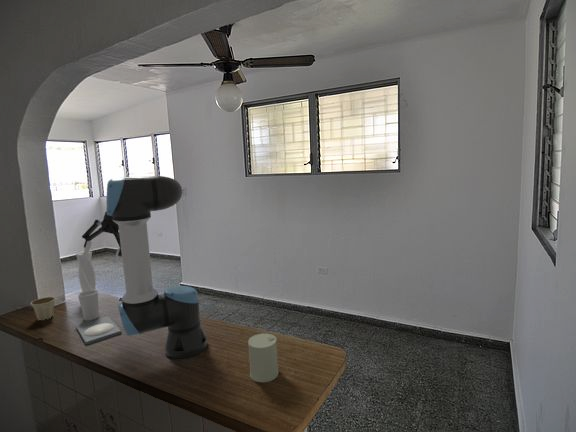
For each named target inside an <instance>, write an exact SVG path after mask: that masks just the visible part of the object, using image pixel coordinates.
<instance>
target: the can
mask: <svg viewBox="0 0 576 432" xmlns="http://www.w3.org/2000/svg"><path fill="white" fill-rule="evenodd" d="M277 341H278V339H277V337H276V336H275V335H273V334H271V333H258V334H255V335H253V336H251V337H250V338H249V339H248V342H247V344H248V356H249V377H250V379H251V380H253V381H254V382H257V383H268V382H271V381H273V380H275V379H276V378H277V377H278V376H279V372H280V371H279V366H278V349H277V347H278V345H277Z"/></svg>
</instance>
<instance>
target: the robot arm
mask: <svg viewBox="0 0 576 432" xmlns="http://www.w3.org/2000/svg"><path fill="white" fill-rule="evenodd" d="M106 185H107V186H106V210H105V213H104V215H103V218H102V219H103V220H100V219H95V220H94V222H93V224H92V225H91V226H90V227H89V228H88V229H87V230H86V231H85V232H84V233H83V234H82V235H81V238H82V239H84V240H85V241H84V244H83V250H84V249H85V250H84V253H83V256H88V254H89V252H91V251H90V250H91V248H92V244H93V240H94V239H95V238H96V237H98V236H99V235H101V234H102V233H107V234H113V236H114V237H115V240H116V242H117V244H118V248H117V249H116V253H115V256H114V260H113V264H119V261H120V257H121V259H122V268H123V276H124V285H125V286H124V287H125V293H124V294H123V295H122V297H121V301H122V302H119V303H118V304H117V309H118V312H119V315H120V320H121V324H122V327H123V330H124V333H125V334H126V336H130V337H131V336H135V335H142V334H145V333H148V332H152V331H157V330H160V329H163V328H168V329H167V336H166V339H165V342H164V352H165V355H166V356H168V357H170V358H173V359H186V358H187V359H188V358H190V357H193V356H196V355H198V354H200V353H202V352H203V351H204V350H205V349H206V348H207V345H208V340H207V336H206V334H205V332H204V329H203V327H202V325H201V313H200V300H199V296H198V291H197V289H196V288H194V287H191V286H187V285H174V286H169V287H167V288H165V289H164V290H163V294H159V291H158V290H157V289H156V288H154V287H153V285H154V284H153V275H152V274H153V273H152V265H151V255H150V244H149V234H148V224H147V222H148V221H149V220H150V219H151V217H152V216H151V215H152V214H151V212H156V211H162V210H167V209H169V208H171V207H174V206H175V205H176V204H178V203H179V202H180V200H181V199H182V197H183V188H182V186H181V184H180V182H179V181H177V180H176V179H174V178H172V177H168V176H162V175H153V176H151V175H149V176H126V177H124V176H123V177H117V178H111V179H109V180H108V181H107V184H106ZM100 225H101V226H100ZM99 226H100V227H99ZM98 227H99V228H98ZM97 228H98V230H96V229H97ZM90 247H91V248H90Z"/></svg>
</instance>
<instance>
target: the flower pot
mask: <svg viewBox="0 0 576 432" xmlns="http://www.w3.org/2000/svg"><path fill="white" fill-rule="evenodd" d="M55 300H56V297H54V296H47V297H41V298H38V299H34V300H32V301H31V302H30V305H31V307H32V309H34V313H35V316H36V320H37V319H38V320H37V321H39V320H41V321H46V320H45V319H47V320H49V319H48V318H50V319H51V317H52V316H53V317H54V309H55V308H54V307H55V306H54V304H55ZM53 317H52V318H53Z"/></svg>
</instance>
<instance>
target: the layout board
mask: <svg viewBox="0 0 576 432" xmlns="http://www.w3.org/2000/svg"><path fill="white" fill-rule="evenodd" d="M75 328H76V331H77V332H78V334H79V336H80V337H81V338H82V340H83V342H84V344H85V345H86V346H87V345H91V344H93V343H94V344H95V343H96V342H100V341H102V340H105V339H108V338H111V337H115V336H118V335H121V334H122V330H121V328H119V327H118V325H117V324H116V323H115V322H114V321H113V320H112V319H111V318H110V316H109V315H108V316H105V317H102V318H98V319H93V320H90V321H88V322H85V323H81V324H78V325H75Z"/></svg>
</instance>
